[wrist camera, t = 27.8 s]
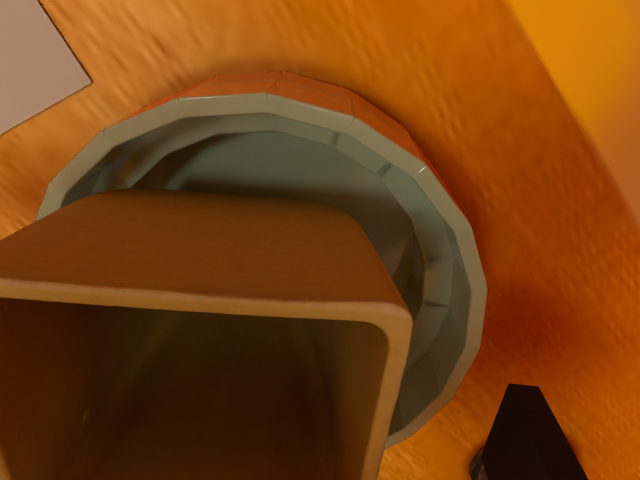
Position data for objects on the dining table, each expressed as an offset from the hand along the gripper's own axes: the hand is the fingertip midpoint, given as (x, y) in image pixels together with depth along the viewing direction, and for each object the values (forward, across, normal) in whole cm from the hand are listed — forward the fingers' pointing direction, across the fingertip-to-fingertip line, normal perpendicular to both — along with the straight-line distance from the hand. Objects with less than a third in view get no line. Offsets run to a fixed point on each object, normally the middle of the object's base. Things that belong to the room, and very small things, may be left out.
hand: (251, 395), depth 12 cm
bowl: (+8, 0, 0) cm, 8 cm away
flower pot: (+7, -2, 0) cm, 7 cm away
